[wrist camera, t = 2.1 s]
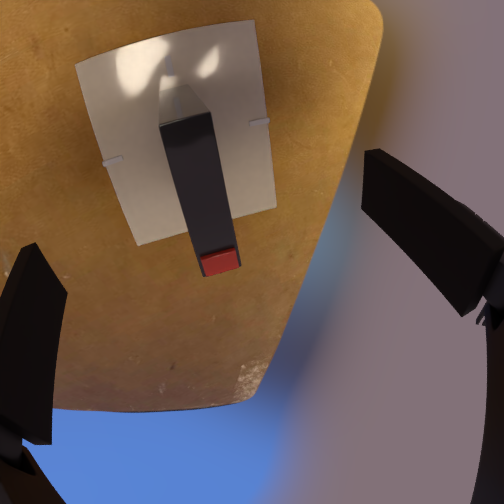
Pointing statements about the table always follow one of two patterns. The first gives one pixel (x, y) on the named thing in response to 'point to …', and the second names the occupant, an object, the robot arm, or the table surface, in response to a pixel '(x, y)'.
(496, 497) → the robot arm
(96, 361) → the table surface
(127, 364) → the table surface
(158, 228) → the plate
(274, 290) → the table surface
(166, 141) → the tap handle
